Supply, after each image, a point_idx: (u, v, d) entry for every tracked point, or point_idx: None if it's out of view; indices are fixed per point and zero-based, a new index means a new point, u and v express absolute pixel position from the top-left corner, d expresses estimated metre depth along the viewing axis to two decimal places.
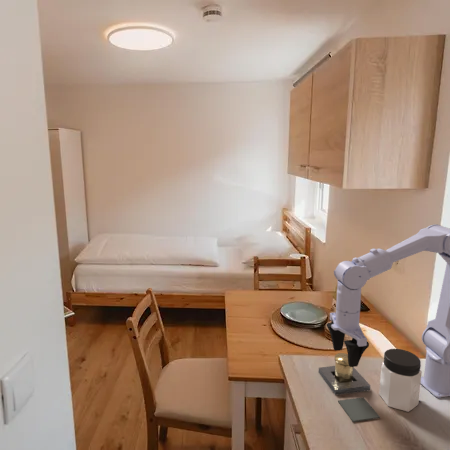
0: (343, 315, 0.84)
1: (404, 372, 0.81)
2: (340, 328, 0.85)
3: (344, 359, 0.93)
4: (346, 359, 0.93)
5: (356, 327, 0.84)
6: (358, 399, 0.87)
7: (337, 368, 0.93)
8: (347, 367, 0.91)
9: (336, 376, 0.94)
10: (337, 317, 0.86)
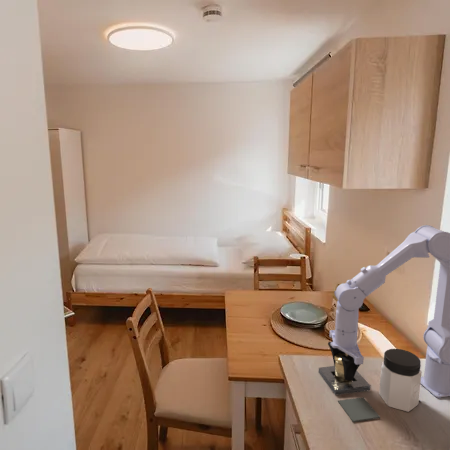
0: (341, 334, 0.90)
1: (404, 372, 0.81)
2: (339, 346, 0.91)
3: None
4: None
5: (354, 345, 0.90)
6: (358, 399, 0.87)
7: (337, 368, 0.93)
8: None
9: (336, 376, 0.94)
10: (336, 336, 0.92)
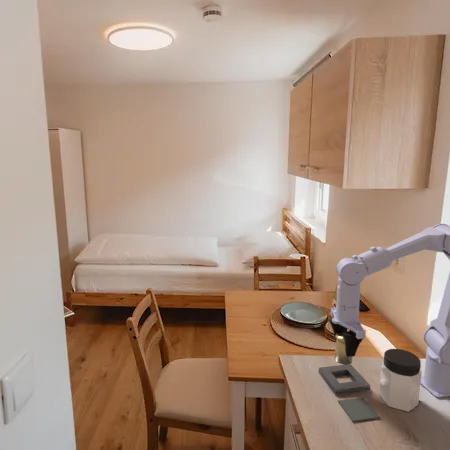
0: (343, 309, 0.89)
1: (404, 372, 0.81)
2: (340, 322, 0.89)
3: None
4: None
5: (355, 321, 0.89)
6: (358, 399, 0.87)
7: (338, 346, 0.92)
8: None
9: (336, 354, 0.93)
10: (337, 311, 0.90)
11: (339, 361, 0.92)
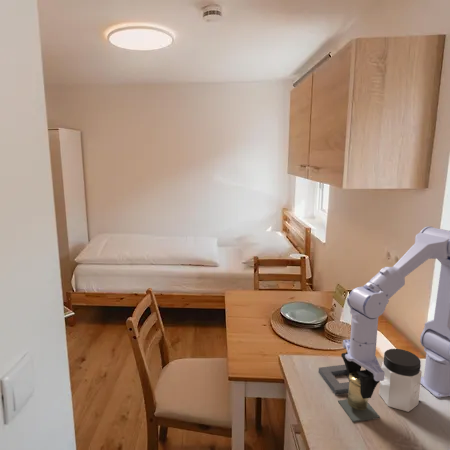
0: (358, 345, 0.78)
1: (404, 372, 0.81)
2: (355, 359, 0.79)
3: None
4: None
5: (372, 358, 0.78)
6: None
7: (352, 389, 0.82)
8: None
9: (350, 398, 0.82)
10: (351, 347, 0.80)
11: (353, 406, 0.82)
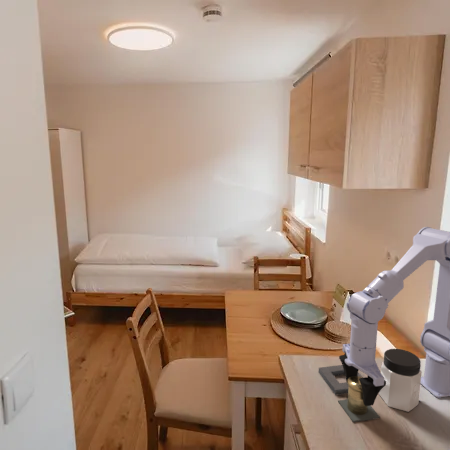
0: (358, 350, 0.78)
1: (404, 372, 0.81)
2: (354, 364, 0.79)
3: (358, 384, 0.82)
4: None
5: (372, 363, 0.79)
6: None
7: (351, 394, 0.82)
8: None
9: (350, 403, 0.82)
10: (351, 352, 0.80)
11: (353, 411, 0.82)
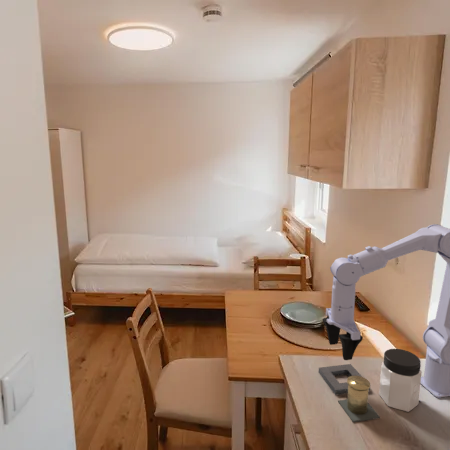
0: (338, 310, 0.87)
1: (404, 372, 0.81)
2: (335, 322, 0.88)
3: (358, 383, 0.82)
4: (360, 383, 0.82)
5: (350, 322, 0.87)
6: None
7: (351, 394, 0.82)
8: (363, 393, 0.80)
9: (350, 403, 0.83)
10: (332, 312, 0.89)
11: (353, 411, 0.82)
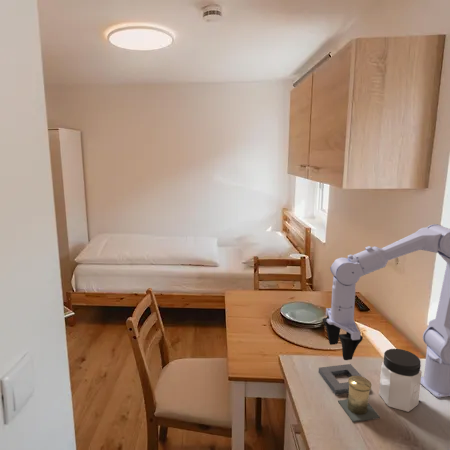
0: (338, 310, 0.87)
1: (404, 372, 0.81)
2: (335, 322, 0.88)
3: (359, 384, 0.82)
4: (362, 383, 0.82)
5: (350, 322, 0.87)
6: None
7: (352, 394, 0.82)
8: (364, 393, 0.80)
9: (350, 403, 0.82)
10: (332, 312, 0.89)
11: (354, 411, 0.82)
